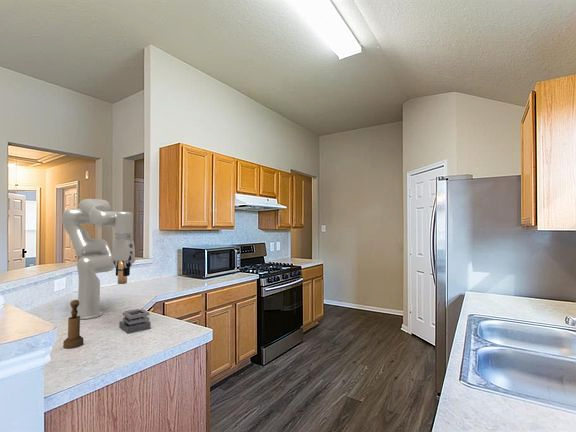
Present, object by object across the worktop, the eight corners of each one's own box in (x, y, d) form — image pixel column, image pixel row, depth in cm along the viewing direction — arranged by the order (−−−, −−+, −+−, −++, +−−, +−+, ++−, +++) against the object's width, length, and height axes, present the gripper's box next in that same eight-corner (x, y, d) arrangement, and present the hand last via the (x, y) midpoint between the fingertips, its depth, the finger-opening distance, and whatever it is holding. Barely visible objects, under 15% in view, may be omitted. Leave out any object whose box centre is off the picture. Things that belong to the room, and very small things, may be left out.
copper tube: (122, 282, 150) (123, 259, 151) (129, 282, 149) (129, 260, 149) (115, 283, 147) (116, 260, 147) (122, 284, 145) (122, 260, 146)
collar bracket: (119, 327, 145) (119, 311, 145) (141, 323, 152) (141, 307, 152) (127, 333, 137) (128, 316, 137) (150, 328, 144) (150, 312, 144)
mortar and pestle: (60, 349, 119) (61, 302, 120) (67, 343, 125) (68, 298, 126) (80, 347, 121) (81, 301, 121) (85, 341, 127) (87, 297, 128)
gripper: (143, 237, 149) (142, 275, 149) (117, 236, 155) (116, 273, 154) (130, 237, 142) (129, 277, 142) (103, 237, 148) (102, 275, 147)
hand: (122, 275), depth 148 cm, fingers closed on copper tube, 4 cm apart
